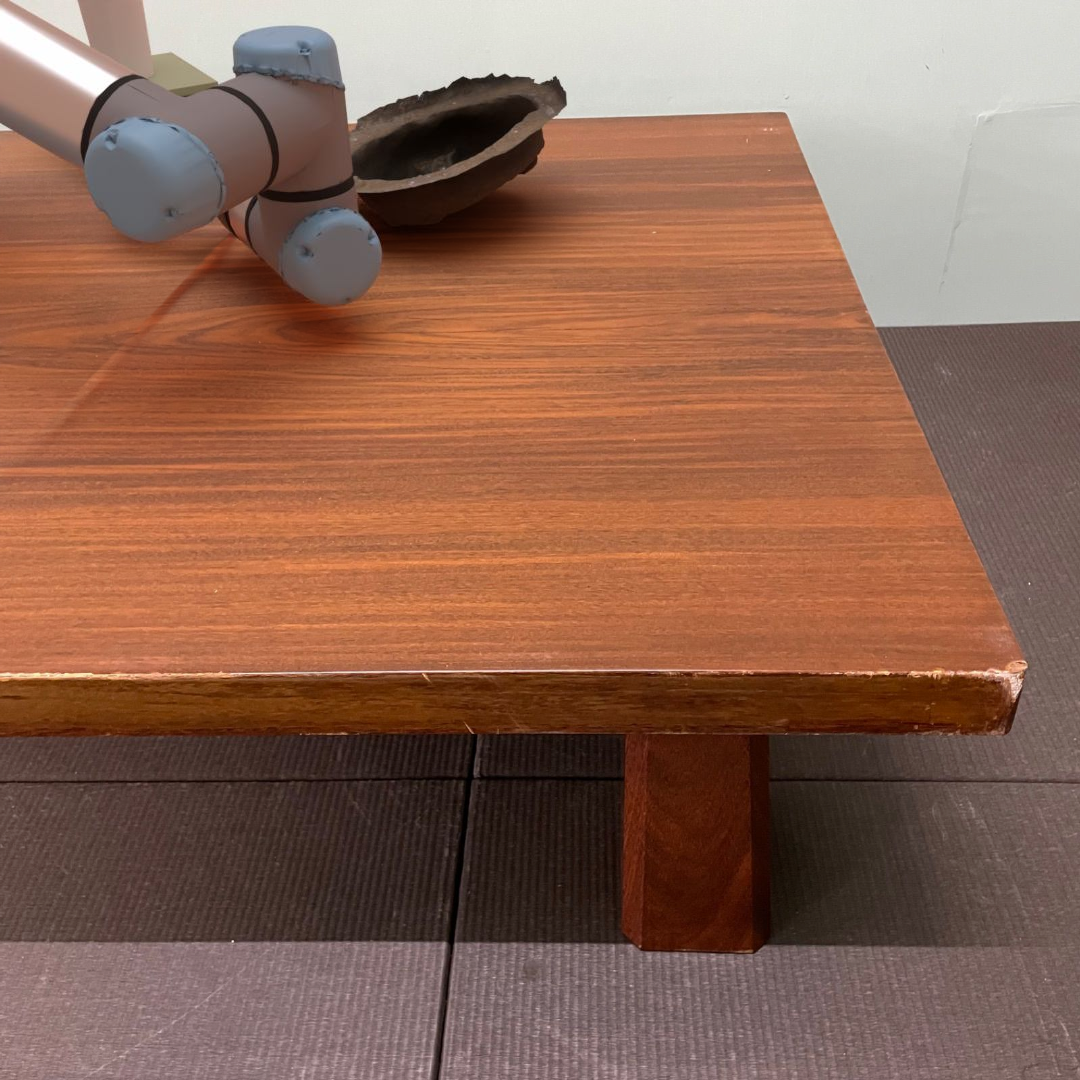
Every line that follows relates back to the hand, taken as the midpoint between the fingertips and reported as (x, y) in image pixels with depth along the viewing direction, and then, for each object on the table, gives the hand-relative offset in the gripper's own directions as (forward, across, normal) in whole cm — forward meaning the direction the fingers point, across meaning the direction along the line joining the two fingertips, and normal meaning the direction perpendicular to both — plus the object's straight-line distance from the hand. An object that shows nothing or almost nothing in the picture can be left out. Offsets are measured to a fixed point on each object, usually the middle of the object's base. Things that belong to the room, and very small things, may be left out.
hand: (190, 144), depth 114 cm
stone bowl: (-16, +21, -6) cm, 27 cm away
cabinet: (+18, 0, -7) cm, 20 cm away
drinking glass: (+19, 0, +2) cm, 19 cm away
